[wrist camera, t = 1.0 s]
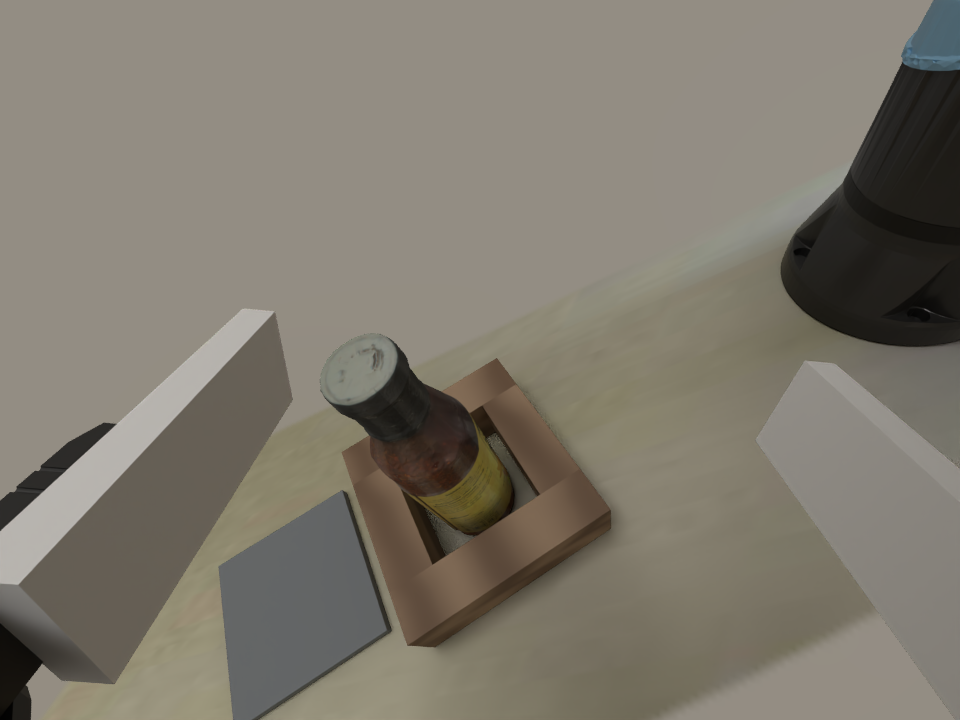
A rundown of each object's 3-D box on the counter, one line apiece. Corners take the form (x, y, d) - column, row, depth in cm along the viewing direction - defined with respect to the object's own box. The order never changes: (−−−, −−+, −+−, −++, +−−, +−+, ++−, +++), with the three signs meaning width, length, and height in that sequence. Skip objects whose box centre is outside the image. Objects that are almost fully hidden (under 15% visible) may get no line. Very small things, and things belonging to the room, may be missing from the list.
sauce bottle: (525, 473, 35) (456, 322, 19) (501, 550, 32) (395, 446, 16) (456, 453, 38) (344, 305, 22) (427, 523, 35) (275, 410, 19)
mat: (346, 492, 38) (342, 490, 37) (391, 630, 31) (386, 630, 30) (225, 568, 37) (218, 566, 36) (242, 729, 30) (234, 731, 29)
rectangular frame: (508, 387, 40) (496, 358, 36) (610, 528, 31) (610, 509, 27) (369, 473, 39) (341, 452, 35) (434, 647, 30) (407, 645, 26)
